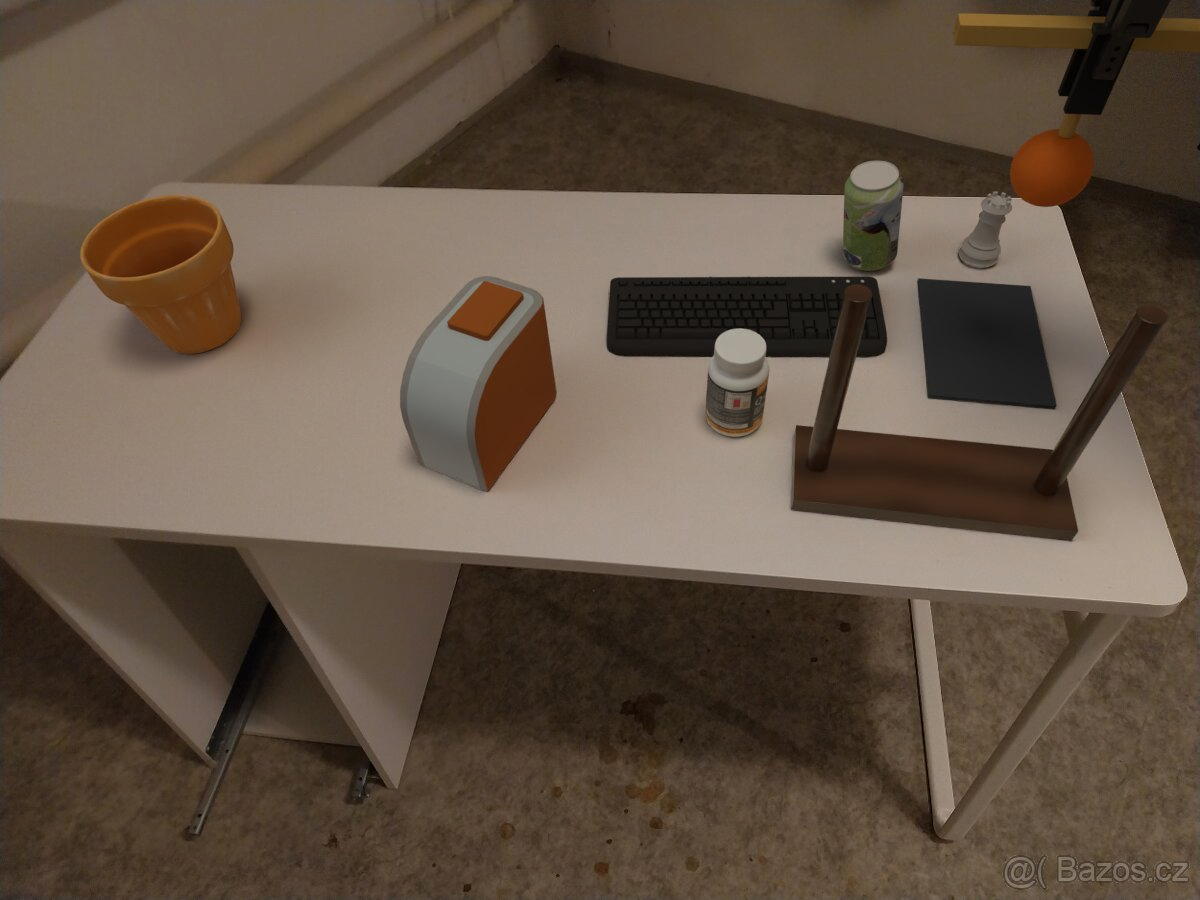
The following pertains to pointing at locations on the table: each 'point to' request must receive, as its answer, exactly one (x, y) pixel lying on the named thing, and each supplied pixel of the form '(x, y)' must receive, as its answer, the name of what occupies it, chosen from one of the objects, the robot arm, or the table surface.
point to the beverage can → (872, 215)
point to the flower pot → (168, 269)
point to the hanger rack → (950, 452)
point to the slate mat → (983, 344)
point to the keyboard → (735, 314)
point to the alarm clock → (478, 381)
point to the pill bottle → (737, 383)
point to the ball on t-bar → (1061, 156)
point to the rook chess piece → (986, 233)
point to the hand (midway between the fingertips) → (1079, 102)
